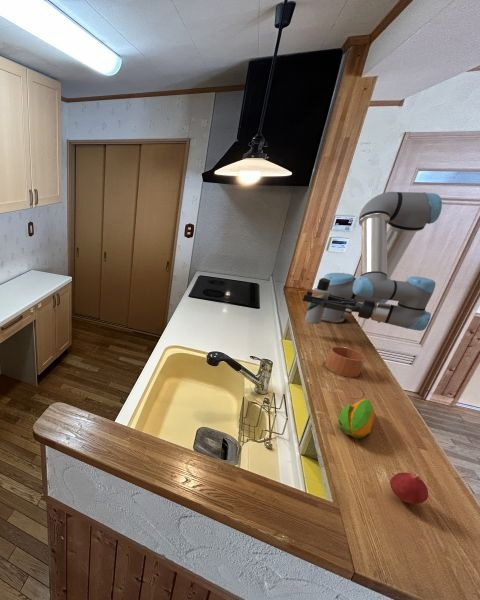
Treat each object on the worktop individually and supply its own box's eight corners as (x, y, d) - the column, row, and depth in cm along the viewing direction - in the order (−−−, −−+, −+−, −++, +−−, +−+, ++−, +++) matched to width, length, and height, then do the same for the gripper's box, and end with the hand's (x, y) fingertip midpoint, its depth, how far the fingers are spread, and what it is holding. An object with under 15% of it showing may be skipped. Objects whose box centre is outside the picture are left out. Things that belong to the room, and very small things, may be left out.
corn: (339, 411, 87) (356, 383, 100) (329, 432, 90) (346, 402, 103) (374, 428, 82) (387, 396, 95) (361, 450, 85) (375, 416, 98)
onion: (378, 489, 74) (390, 463, 71) (400, 487, 75) (414, 461, 72) (403, 513, 69) (418, 486, 66) (428, 511, 69) (443, 485, 66)
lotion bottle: (315, 319, 146) (328, 277, 139) (322, 324, 141) (336, 281, 134) (301, 318, 147) (314, 276, 139) (308, 324, 141) (322, 280, 134)
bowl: (350, 364, 125) (356, 348, 122) (364, 379, 116) (371, 362, 113) (320, 360, 127) (325, 344, 125) (332, 374, 118) (338, 358, 115)
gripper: (368, 326, 123) (298, 309, 138) (371, 312, 136) (307, 298, 151) (375, 308, 121) (303, 293, 135) (377, 296, 133) (311, 283, 148)
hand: (305, 295), depth 143 cm, fingers closed on lotion bottle, 6 cm apart
